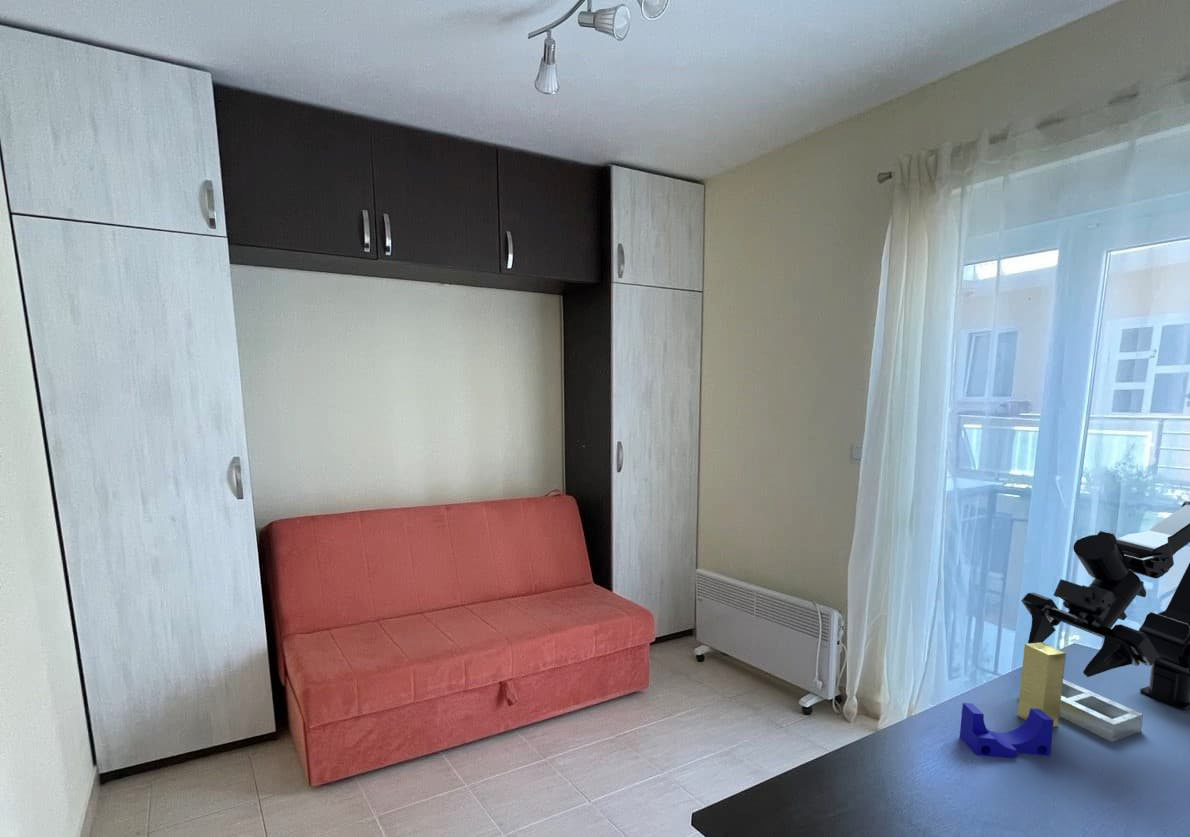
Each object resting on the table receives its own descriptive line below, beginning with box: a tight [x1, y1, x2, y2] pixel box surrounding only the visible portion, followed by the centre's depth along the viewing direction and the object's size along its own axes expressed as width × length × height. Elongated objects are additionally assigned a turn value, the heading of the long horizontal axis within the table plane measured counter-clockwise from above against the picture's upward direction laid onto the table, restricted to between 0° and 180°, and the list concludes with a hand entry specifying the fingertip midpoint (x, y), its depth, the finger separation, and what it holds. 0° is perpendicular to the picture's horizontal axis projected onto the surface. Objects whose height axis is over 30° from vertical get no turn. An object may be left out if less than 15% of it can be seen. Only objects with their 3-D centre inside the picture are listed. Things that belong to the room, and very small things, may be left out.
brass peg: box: [1017, 642, 1067, 728], centre depth 98 cm, size 4×4×13 cm
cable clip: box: [959, 702, 1054, 759], centre depth 89 cm, size 12×4×6 cm, turn 86°
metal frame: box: [1059, 678, 1144, 743], centre depth 101 cm, size 9×14×3 cm, turn 23°
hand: (1055, 661), depth 98 cm, fingers open, 9 cm apart
